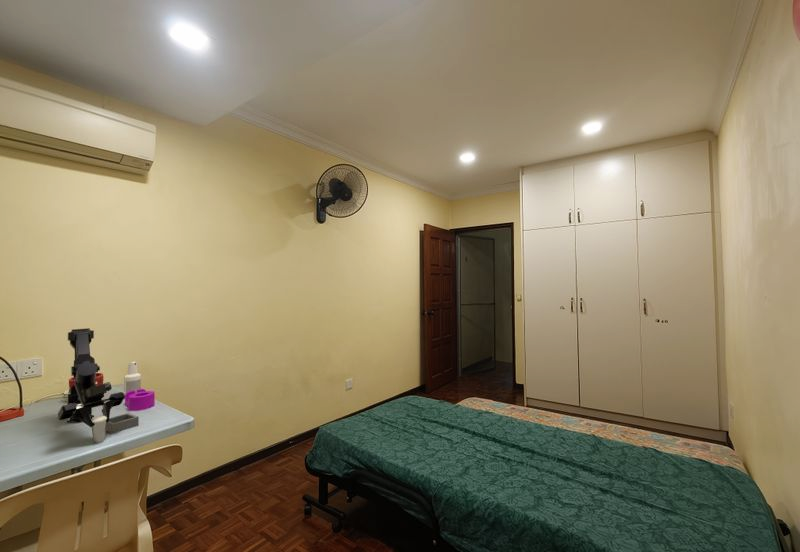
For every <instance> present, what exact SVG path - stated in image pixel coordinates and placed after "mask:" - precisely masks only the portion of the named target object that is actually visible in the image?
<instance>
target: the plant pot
mask: <svg viewBox="0 0 800 552" xmlns="http://www.w3.org/2000/svg"><path fill="white" fill-rule="evenodd" d="M94 381H95V383H96V386H99V385H102V384H104V373H102V372H96V378H95V380H94ZM74 382H75V378H74V376H73V377H72V376H71V377H70V378H69V379H68V389H69V391H70V390H71V388H72V387H73V385H74Z"/></svg>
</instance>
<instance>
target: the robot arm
mask: <svg viewBox="0 0 800 552" xmlns="http://www.w3.org/2000/svg"><path fill="white" fill-rule="evenodd" d="M90 328H91V327H90ZM90 328H89V327H87V328H77V329H71V331H69V332H67V341H69V346H71V347H72V348H73V350H74V359H73V365H72V366H71V369H70V374H71V375H70V376H71V377H72V376H73V377H74V378H75V382H74V385H73V387H72V388H71V390H70V389H69V393H68V394H67V400H66V401H67V402H66V403H67V404H64V405H62V406H61V407H60V409H59V410H58V413H57V418H58V421H64V420H66V423H84V424H85V425H86V426H88V427H90V428H92V426H93V423H92V421H91V420H92V419H91V417H92V418H95V417H94V416H95V415H92V410H93V408H97V407H100V406H102V409H101V413H102V416H106V417H107V422H109V418H111V417H110V415H111V409H112V408H114V407H118V406H120V405H122V403H123V401H125V395H124V391H120V392H119V391H118V392H115V393H111V394H110V395H109V397H107V398H105V399H103V398H104V397H105V394H107V392H110V391H111V390H112V384H111V382H110V381H108V382H107V381H106V382H103V384H102V385H99V386H96V384H97V382H96V383H95V381H94V380H95V378H96V373H99V372H100V371H101V367H100V366H99V365H98V363H96V361H95V357H93V356H91V350H90V347H91V346H90V344H91V342H92V339H94V337H95V333H94V332H95V331H94V330H91V329H90ZM90 415H91V417H90Z"/></svg>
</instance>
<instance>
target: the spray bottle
mask: <svg viewBox="0 0 800 552" xmlns="http://www.w3.org/2000/svg"><path fill="white" fill-rule="evenodd" d="M141 377H142V374H141V373H138V361H132V362H131V361H130V362H128V366H127V374H126V375H124V379H123V380H124V381H123V384H124V385H123V386H124V387H123V393H124V395H125V394H126V393H127V392H129V391H133V390H134V391H135V393H137V390H138V389H142V388H141V387H142V385H141V383H142V382H141V381H142V379H141Z"/></svg>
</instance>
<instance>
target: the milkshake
mask: <svg viewBox="0 0 800 552" xmlns="http://www.w3.org/2000/svg"><path fill="white" fill-rule="evenodd" d="M90 417H91V415H90ZM91 421H92V423H93V426H92V427H91V433H92V443H94V444H99V443H102V442H104V441H105V440H106V434H107V433H106V432H107V431H106V422H107V417H106V416H103V414H101V415H99V416H96V417H91Z"/></svg>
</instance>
